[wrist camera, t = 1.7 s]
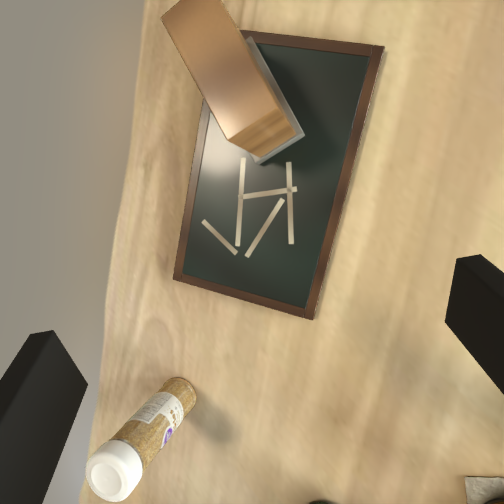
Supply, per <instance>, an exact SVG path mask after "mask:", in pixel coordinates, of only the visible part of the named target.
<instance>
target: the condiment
mask: <svg viewBox="0 0 504 504" xmlns="http://www.w3.org/2000/svg"><path fill="white" fill-rule="evenodd" d="M465 485H466V494H467V504H504V478H500V477H497V478H485V477H465Z"/></svg>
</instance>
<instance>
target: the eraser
mask: <svg viewBox="0 0 504 504" xmlns="http://www.w3.org/2000/svg"><path fill="white" fill-rule="evenodd" d="M161 20H162V22H163V24H164V26H165V28H166V29H167V31H168V33H169V35H170V37H171V39H172V40H173V42H174V44H175V46H176V48H177V50H178V51H179V53H180V55H181V57H182V59H183V61H184V62H185V64H186V66H187V68H188V70H189V72H190V73H191V75H192V77H193V79H194V81H195V82H196V84H197V86H198V88H199V90H200V92H201V93H202V95H203V97H204V99H205V101H206V103H207V104H208V106H209V108H210V110H211V112H212V114H213V115H214V117H215V119H216V121H217V123H218V125H219V126H220V128H221V130H222V132H223V134H224V136H225V137H226V139H227V141H229V142H231V143H233V144H235V145H236V146H238V147H240V148H242V149H244V150H246V151H248V152H249V153H250V154H251V156H252V158H253V160H254V162H255V163H257V164H261V163H263V162H264V161H266V160H267V159H269V158H271V157H272V156H274V155H275V154H277V153H279V152H280V151H282V150H283V149H285V148H287V147H288V146H290V145H291V144H293V143H295V142H296V141H298V140H299V139H301V138H302V137H304V136H305V134H304V132H303V130H302V129H301V127H300V125H299V123H298V121H297V119H296V118H295V116H294V114H293V112H292V110H291V108H290V107H289V105H288V103H287V101H286V99H285V97H284V96H283V94H282V92H281V90H280V88H279V86H278V84H277V83H276V81H275V79H274V77H273V75H272V73H271V72H270V70H269V68H268V66H267V64H266V62H265V61H264V59H263V57H262V55H261V53H260V51H259V50H258V48H257V46H256V44H255V42H254V41H253V39H252V37H251V36H250V37H249V38H247V39H246V40H245V39H244V37H243V36H242V34H241V32H240V31H239V29H238V27H237V26H236V24H235V22H234V21H233V19H232V18H231V16H230V14H229V13H228V11H227V9H226V8H225V6H224V4H223V3H222V1H221V0H180V1H179V2H178V3H177V4H176V5H174V6H173V7H172V8H171V9H170V10H169V11H167V12H166V13H165V14H164V15H163V16H162V17H161Z"/></svg>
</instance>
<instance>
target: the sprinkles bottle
mask: <svg viewBox="0 0 504 504" xmlns="http://www.w3.org/2000/svg"><path fill="white" fill-rule="evenodd" d="M195 403H196V394H195V391H194V389H193V387H192V386H191V385H190V384H189V383H188V382H187V381H185V380H184V379H181V378H171V379H169V380H167V381H166V382H165V383H164V385H163V387H162V388H161V389H160V390H159V391H158V392H157V393H156V394H154V395H153V396H152V397H151V398H150V399H149V400H148V401H147V402H146V403H145V404H144V405H143V406H142V407H141V408H140V409H139V410H138V411H137V412H136V413H135V414H134V415H133V416H132V417H131V418H130V419H129V420H128V421H127V422H126V423H125V424H124V426H123V427H122V428H121V429H120V430H119V431H118V432H117V433H116V434H115V435H114V436H113V437H112V438H111V439H110V440H109V441H107V442H105V443H104V444H103V445H102V446H101V447H100V448H99V449H98V450H97V451H96V452H95V453H94V454H93V455H92V456H91V457H90V459H89V460H88V462H87V465H86V478H87V481H88V483H89V485H90V487H91V489H92V490H93V491H94V492H95V493H96V494H97V495H98V496H99V497H101V498H102V499H104V500H107V501H110V502H118V501H122V500H124V499H125V498H126V497H127V496H128V495H129V494H130V493H131V492H132V490H133V489H134V488H135V487H136V485H137V484H138V482H139V481H140V479H141V477H142V474H143V472H144V471H145V469H146V468H147V466H148V465H149V464H150V462H151V461H152V460H153V458H154V457H155V456H156V454H157V453H158V451H159V450H161V449H162V447H163V446H164V445H165V443H166V442H167V441H168V439H169V438H170V437H171V435H172V434H173V433H174V432H175V430H176V429H177V428H178V426H179V425H180V424H181V422H182V420H183V419H184V417H185V416H186V415H187V414H188V412H190V411H191V410H192V408H193V407H194V405H195Z"/></svg>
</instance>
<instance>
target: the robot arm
mask: <svg viewBox="0 0 504 504" xmlns="http://www.w3.org/2000/svg"><path fill="white" fill-rule="evenodd" d="M445 323H446V324H447V325H448V327H449V328H450V329H451V330H452V332H453V333H454V334H455V335H456V336H457V338H458V339H459V340H460V341H461V343H462V344H463V345H464V346H465V348H466V349H467V350H468V351H469V352H470V354H471V355H472V356H473V357H474V359H475V360H476V361H477V362H478V364H479V365H480V366H481V367H482V368H483V370H484V371H485V372H486V373H487V375H488V376H489V377H490V378H491V380H492V381H493V382H494V383H495V384H496V386H497V387H498V388H499V389H500V391H501V392H502V393H503V394H504V273H503V272H502V271H501V270H499V269H498V268H497V267H496V266H494V265H493V264H492V263H491V262H489V261H488V260H487V259H486V258H484V257H483V256H482V255H481V254H479V255H474V256H468V257H462V258H457V259H456V264H455V270H454V275H453V280H452V286H451V291H450V296H449V302H448V307H447V312H446V318H445ZM87 386H88V383H87V382H86V380H85V379H84V377H83V376H82V374H81V373H80V371H79V370H78V368H77V366H76V365H75V363H74V362H73V360H72V359H71V357H70V355H69V354H68V352H67V351H66V349H65V348H64V346H63V344H62V343H61V341H60V340H59V338H58V337H57V335H56V333H55V332H54V331H53V330H51V331H46V332H40V333H35V334H30V335H29V337H28V338H27V340H26V342H25V343H24V345H23V346H22V348H21V349H20V351H19V352H18V354H17V355H16V357H15V358H14V360H13V362H12V363H11V365H10V366H9V368H8V369H7V371H6V372H5V374H4V375H3V377H2V378H1V380H0V504H42V503H43V500H44V497H45V495H46V492H47V490H48V487H49V484H50V482H51V479H52V477H53V474H54V472H55V469H56V467H57V464H58V461H59V458H60V456H61V453H62V451H63V448H64V446H65V443H66V440H67V438H68V435H69V432H70V430H71V428H72V425H73V422H74V420H75V417H76V414H77V412H78V409H79V407H80V404H81V402H82V399H83V396H84V394H85V391H86V388H87Z"/></svg>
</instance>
